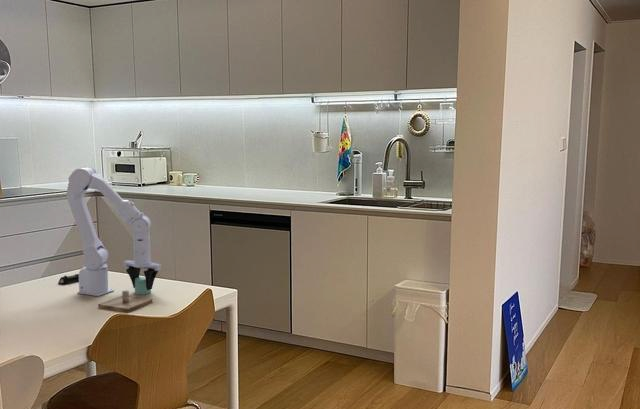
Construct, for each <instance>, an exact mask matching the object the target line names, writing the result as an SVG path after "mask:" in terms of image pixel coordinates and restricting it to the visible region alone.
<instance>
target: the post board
mask: <svg viewBox="0 0 640 409" xmlns="http://www.w3.org/2000/svg"><path fill="white" fill-rule="evenodd" d="M150 304H151V305H152V304H153V298H146V297H141V296H139V297H138V296H133V295H130V293H129V290H127V289H126V290H122V291H121V295H120V296H117V297H115V298H112V299H111V298H110V299H109V300H107V301H103V302H101V303H98V304H97V308H98V309H103V310H108V311H109V310H110V311H115V312H116V311H117V312H122V313H123V312H124V313H131V312H134V311H136V310H138V309H141V308H143V307H146V306H148V305H150Z"/></svg>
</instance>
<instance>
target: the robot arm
mask: <svg viewBox="0 0 640 409" xmlns="http://www.w3.org/2000/svg"><path fill="white" fill-rule="evenodd" d="M67 185H68V186H67V189H66V193H65V194H66V195H65V196H66V199H67V201H68V202H67V203H68V205H69V208H70V210H71V212H72V216H73V219H74V222H75V224H76V227H77V230H78V233H79V236H80V238H81V242H82V244H83V245H82V253H83V264H84V266H83V267H82V268H80V270H79V273H78V274H79V281H78V291H77V294H82V295H87V296H95V297H100V296H102V295H106V294H108V293H112V292H114V291H115V289H112V288H109V273H108V272H109V268H108V266H109V265H108V264H107V261H108V260H109V257H110V253H109V251H108V249H107V248H106V247H105V246H104V244H103V242H102V241H101V240H100V239H99V236H98V234H97V231H96V228H95V226H94V222H93V219H92V217H91V214H90V211H89V208H88V205H87V203H86V199H85V197H84V196H85V195H86V192H87V191H88V190H89V189H91V190H96V191H99V193H101V194H102V195H103V196H104V197H105V198H106V199H108V201H109V202H111V204H113V205H114V206H115V212H116V213H117V214H118V216H120V217H121V218H122V219H123V220H124V221H125V222H126V224H128V225H130V229H131V232H132V233H133V238H132V240H133V241H132V242H133V243H132V246H133V248H132V249H133V250H132V251H133V252H132V253H133V260H127V259H126V260H124V261H123V267H124V268H126V269H125V270H126V273H127V275H128V276H129V279H130V280H131V284H132V288H133V289H135V278H137V277H140V273H141V269H143V274H144V277H145V278H146V288H147V290H150V289H151V290H152V289H153V285H154V282H155V278H156V276H157V274H158V273H159V271H161V270H162V264H161V263H156V262H152V260H151V258H152V256H151V236H150V235H151V232H150V229H151V227H152V221H151V219H150V218H149V216H148V215H145V212H144V213H143V212H141V211H140V210H139V209H138V208H137V207H136V206H135V203H134V202H133V201H130V200H129V199H123V198H122V197H121V196H120V194H119V193H117V191H116V190H115V189H114V188H113V187H112V186H111V184H110V183H109V182H108V181H107V180H106V179H105V178H104V177H103V176H102V175H101V174H100V173H99V172H97V171H96V169H95V168H94V167H90V166H84V167H82V168H81V167H80V168H76V169H74V170H73V171H72V172H71V174H70V175H69V176H68V184H67ZM144 269H145V270H144Z"/></svg>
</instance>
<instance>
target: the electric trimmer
mask: <svg viewBox="0 0 640 409" xmlns="http://www.w3.org/2000/svg"><path fill="white" fill-rule="evenodd" d="M75 282H79V273H77V274H72V275H68V276H67V275H64V276H61V277H60V278H59V280H58V282H57V283H58V284H59V285H61V286H65V285H67V284H71V283H75Z"/></svg>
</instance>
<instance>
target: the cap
mask: <svg viewBox="0 0 640 409" xmlns="http://www.w3.org/2000/svg"><path fill="white" fill-rule="evenodd" d="M151 292H152V289H150V290H147V288H146V278H145V276H139V277H137V278H135V288H134V293H135V294H136V295H148V294H151Z"/></svg>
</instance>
